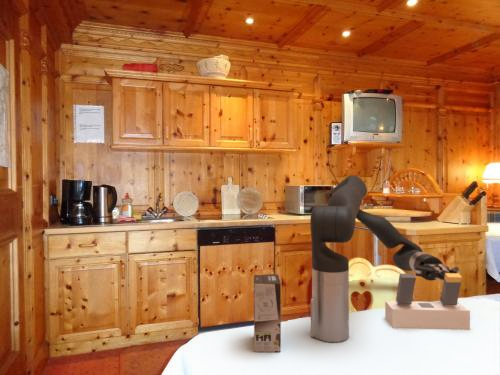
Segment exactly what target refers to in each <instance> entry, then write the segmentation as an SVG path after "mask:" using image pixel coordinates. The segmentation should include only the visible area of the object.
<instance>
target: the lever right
mask: <svg viewBox="0 0 500 375" xmlns="http://www.w3.org/2000/svg"><path fill="white" fill-rule="evenodd" d="M462 280H463V277H462V275H461V274H460V272H459V273H445V277H444V280H443V282H442V287H441V288H442V289H441V295H440V300H439V302H441V304H443V305H457V302H458V301H459V300H458V299H459V296H460V295H459V294H460V290H461V286H462Z"/></svg>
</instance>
